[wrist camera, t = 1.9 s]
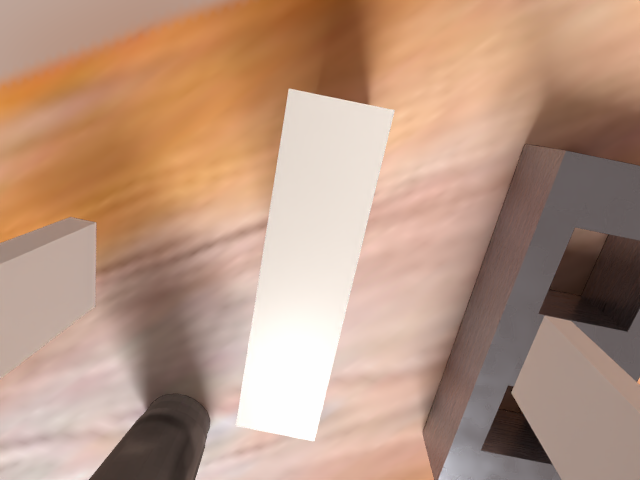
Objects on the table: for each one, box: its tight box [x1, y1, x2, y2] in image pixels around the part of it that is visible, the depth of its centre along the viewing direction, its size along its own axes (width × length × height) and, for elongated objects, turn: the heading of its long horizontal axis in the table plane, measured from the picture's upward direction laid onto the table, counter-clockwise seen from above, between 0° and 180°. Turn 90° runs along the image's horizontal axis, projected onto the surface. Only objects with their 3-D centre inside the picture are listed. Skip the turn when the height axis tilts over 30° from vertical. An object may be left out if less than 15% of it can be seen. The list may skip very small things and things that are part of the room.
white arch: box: [236, 89, 395, 441], centre depth 18 cm, size 12×3×10 cm, turn 169°
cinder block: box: [423, 144, 640, 480], centre depth 22 cm, size 8×20×4 cm, turn 169°
